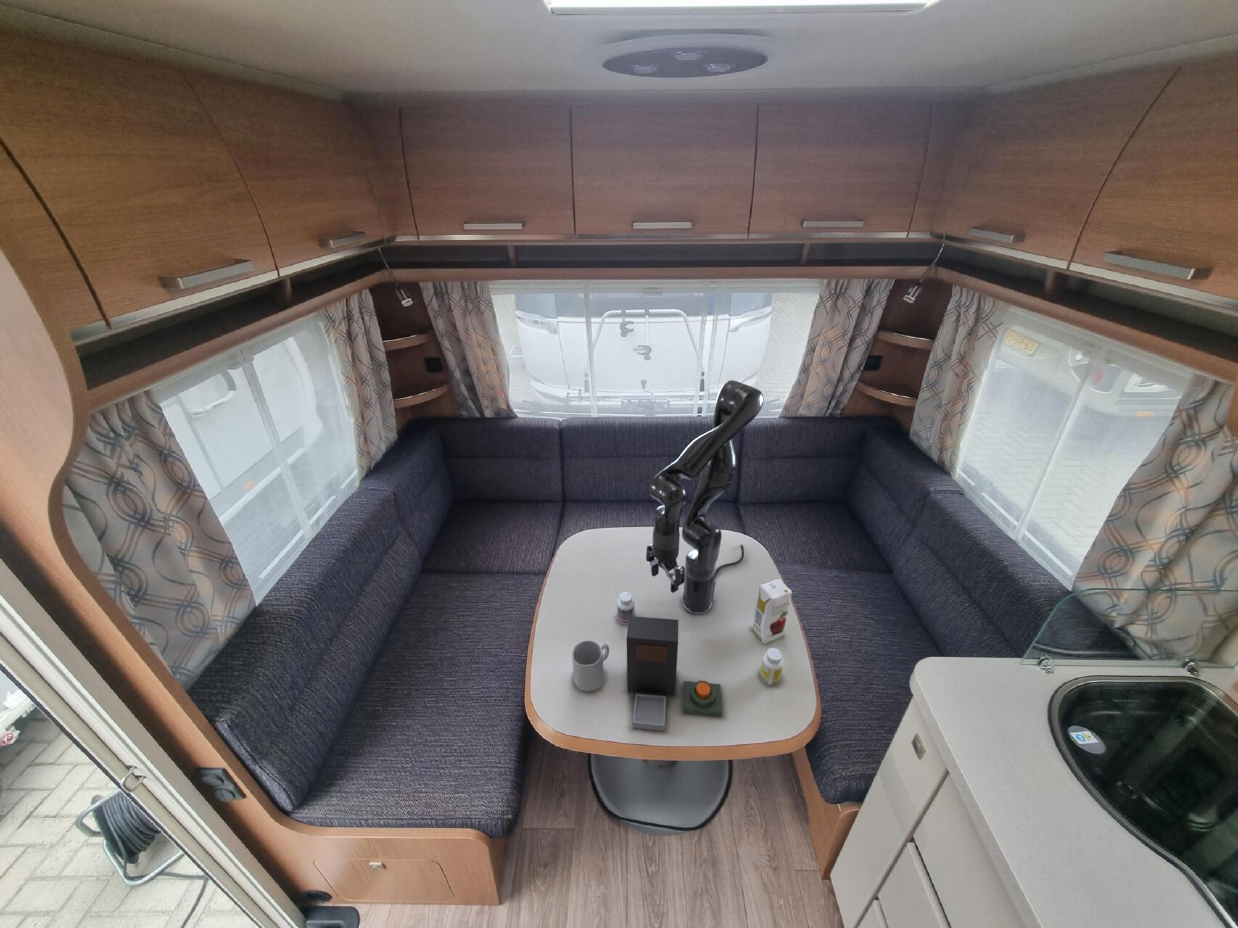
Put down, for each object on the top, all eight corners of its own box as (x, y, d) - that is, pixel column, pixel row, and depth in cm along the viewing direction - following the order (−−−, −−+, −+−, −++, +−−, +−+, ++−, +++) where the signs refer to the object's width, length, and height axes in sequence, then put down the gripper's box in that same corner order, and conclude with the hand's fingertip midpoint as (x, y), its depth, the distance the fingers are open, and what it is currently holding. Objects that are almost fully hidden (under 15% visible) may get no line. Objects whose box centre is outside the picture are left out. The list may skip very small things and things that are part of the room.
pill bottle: (636, 623, 155) (636, 601, 150) (619, 626, 154) (619, 604, 149) (632, 610, 159) (631, 588, 154) (616, 613, 158) (615, 591, 153)
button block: (683, 685, 135) (684, 676, 133) (719, 689, 134) (721, 679, 132) (683, 712, 129) (683, 703, 127) (721, 716, 127) (723, 707, 125)
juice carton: (747, 628, 152) (755, 583, 142) (770, 619, 155) (779, 575, 145) (763, 646, 146) (772, 601, 136) (786, 637, 149) (796, 592, 139)
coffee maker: (629, 669, 140) (629, 615, 129) (675, 673, 139) (678, 619, 128) (623, 726, 126) (621, 672, 114) (674, 732, 124) (677, 677, 113)
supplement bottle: (780, 671, 139) (785, 648, 134) (779, 688, 134) (784, 665, 129) (760, 666, 140) (765, 643, 135) (758, 682, 136) (763, 659, 131)
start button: (695, 685, 131) (696, 681, 130) (709, 686, 131) (709, 682, 130) (696, 698, 128) (696, 693, 127) (710, 699, 128) (710, 695, 127)
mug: (588, 698, 133) (585, 672, 127) (567, 678, 138) (564, 653, 132) (619, 670, 140) (618, 644, 134) (598, 652, 145) (597, 627, 140)
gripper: (693, 548, 134) (690, 590, 142) (659, 523, 144) (658, 564, 152) (673, 559, 130) (670, 602, 138) (639, 533, 140) (639, 574, 148)
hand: (664, 582), depth 145 cm, fingers open, 8 cm apart
